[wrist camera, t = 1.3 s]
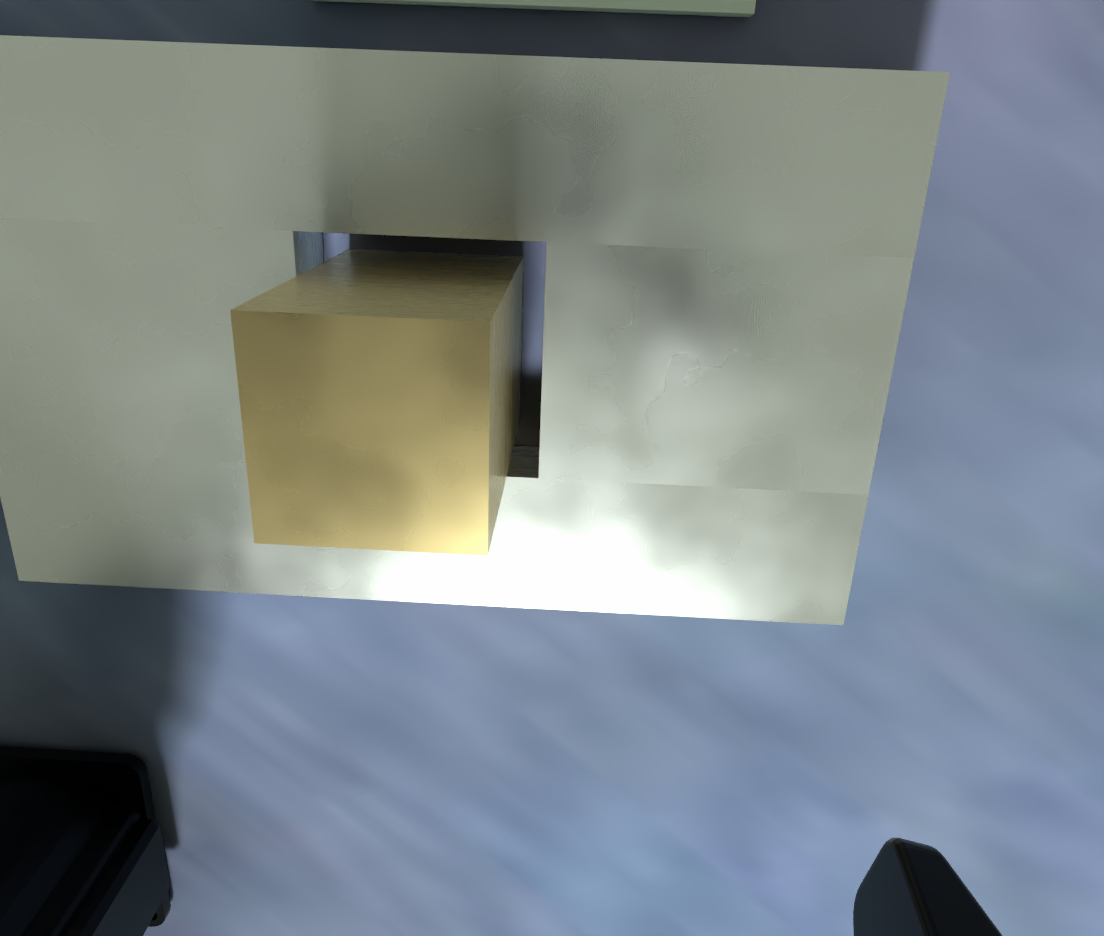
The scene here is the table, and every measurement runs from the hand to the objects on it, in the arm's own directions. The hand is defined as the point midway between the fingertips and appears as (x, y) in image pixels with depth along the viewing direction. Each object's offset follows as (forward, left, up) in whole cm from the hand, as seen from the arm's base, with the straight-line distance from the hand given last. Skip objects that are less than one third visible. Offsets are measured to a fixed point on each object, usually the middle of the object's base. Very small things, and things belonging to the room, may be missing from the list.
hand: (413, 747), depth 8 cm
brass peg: (-2, +1, -13) cm, 13 cm away
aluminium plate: (-2, +1, -13) cm, 13 cm away
